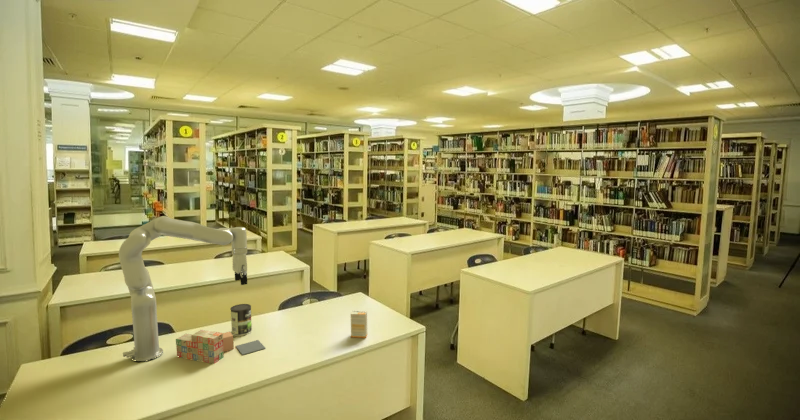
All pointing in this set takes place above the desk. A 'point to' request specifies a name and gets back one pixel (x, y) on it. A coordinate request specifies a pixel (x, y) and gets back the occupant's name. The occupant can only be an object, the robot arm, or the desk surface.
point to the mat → (250, 347)
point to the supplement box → (359, 324)
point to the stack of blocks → (201, 346)
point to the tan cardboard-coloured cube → (228, 341)
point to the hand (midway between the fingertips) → (241, 282)
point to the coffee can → (241, 319)
